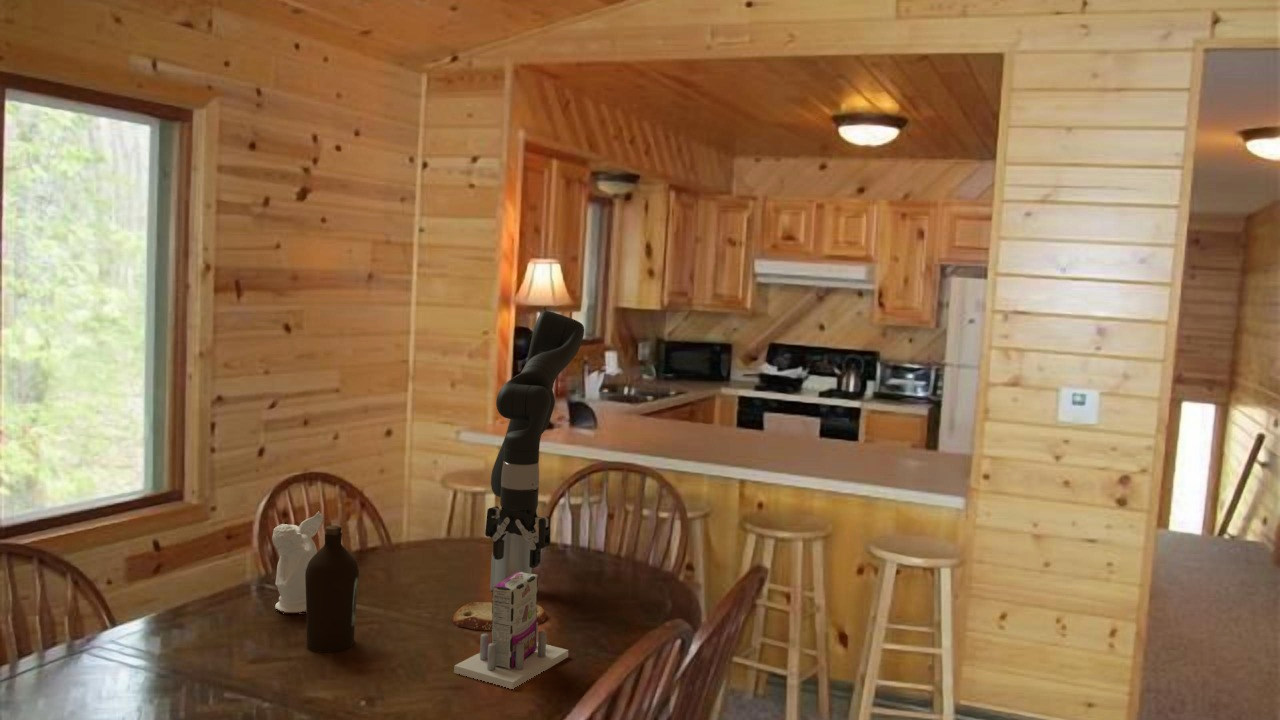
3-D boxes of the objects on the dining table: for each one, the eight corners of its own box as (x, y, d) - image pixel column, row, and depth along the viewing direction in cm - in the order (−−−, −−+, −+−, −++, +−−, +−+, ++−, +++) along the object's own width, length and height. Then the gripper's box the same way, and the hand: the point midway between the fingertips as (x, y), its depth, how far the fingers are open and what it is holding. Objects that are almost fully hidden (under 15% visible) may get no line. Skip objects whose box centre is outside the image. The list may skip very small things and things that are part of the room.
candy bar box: (514, 647, 208) (518, 570, 206) (536, 651, 206) (539, 574, 205) (488, 666, 197) (491, 585, 196) (510, 670, 196) (514, 589, 194)
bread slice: (552, 617, 233) (553, 601, 232) (512, 641, 216) (512, 624, 216) (488, 603, 240) (488, 587, 240) (443, 625, 224) (444, 609, 223)
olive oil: (307, 656, 201) (310, 535, 199) (300, 638, 211) (303, 522, 208) (361, 650, 206) (364, 531, 204) (352, 632, 215) (355, 519, 213)
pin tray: (454, 672, 197) (455, 641, 196) (512, 642, 214) (514, 613, 214) (512, 689, 190) (513, 656, 190) (568, 657, 208) (569, 626, 207)
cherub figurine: (278, 619, 221) (278, 522, 219) (257, 603, 231) (257, 510, 228) (330, 608, 229) (331, 514, 227) (308, 593, 239) (309, 503, 236)
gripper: (479, 481, 199) (476, 560, 201) (539, 492, 192) (535, 574, 194) (502, 475, 206) (498, 552, 207) (560, 486, 199) (556, 565, 201)
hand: (516, 562), depth 201 cm, fingers open, 8 cm apart
